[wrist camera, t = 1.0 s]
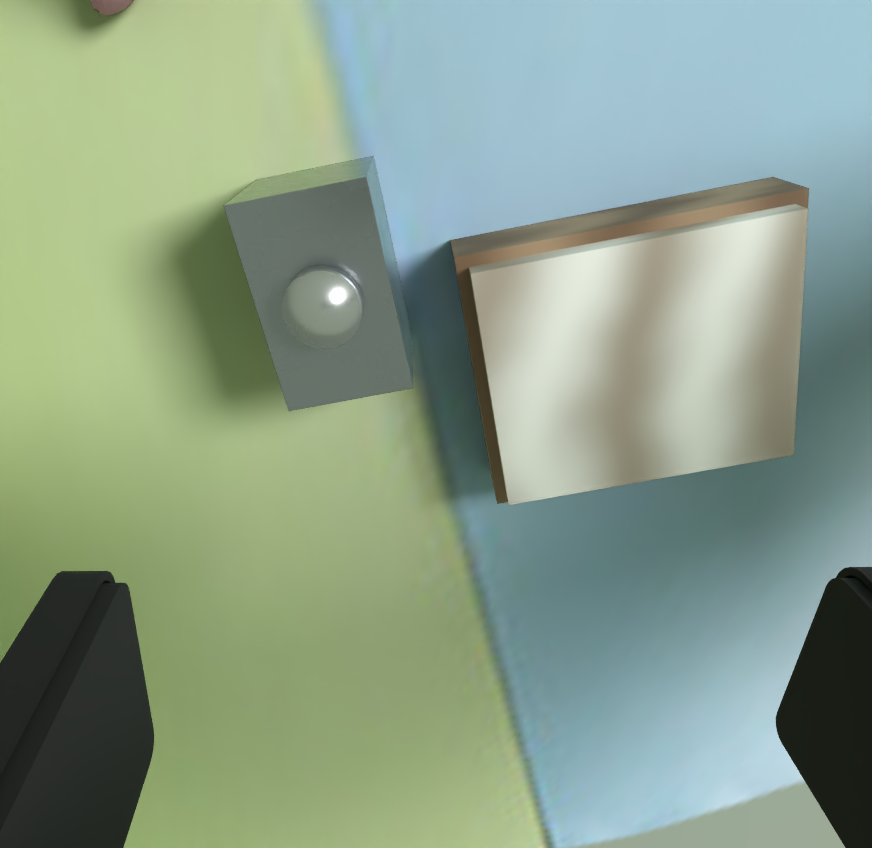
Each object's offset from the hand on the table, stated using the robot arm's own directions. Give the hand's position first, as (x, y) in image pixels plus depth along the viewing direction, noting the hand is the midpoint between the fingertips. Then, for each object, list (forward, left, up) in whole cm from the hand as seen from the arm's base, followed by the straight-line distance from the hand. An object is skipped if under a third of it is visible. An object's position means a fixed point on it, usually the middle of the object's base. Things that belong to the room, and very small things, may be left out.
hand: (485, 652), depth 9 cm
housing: (+4, 0, -24) cm, 24 cm away
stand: (-8, +6, -24) cm, 26 cm away
